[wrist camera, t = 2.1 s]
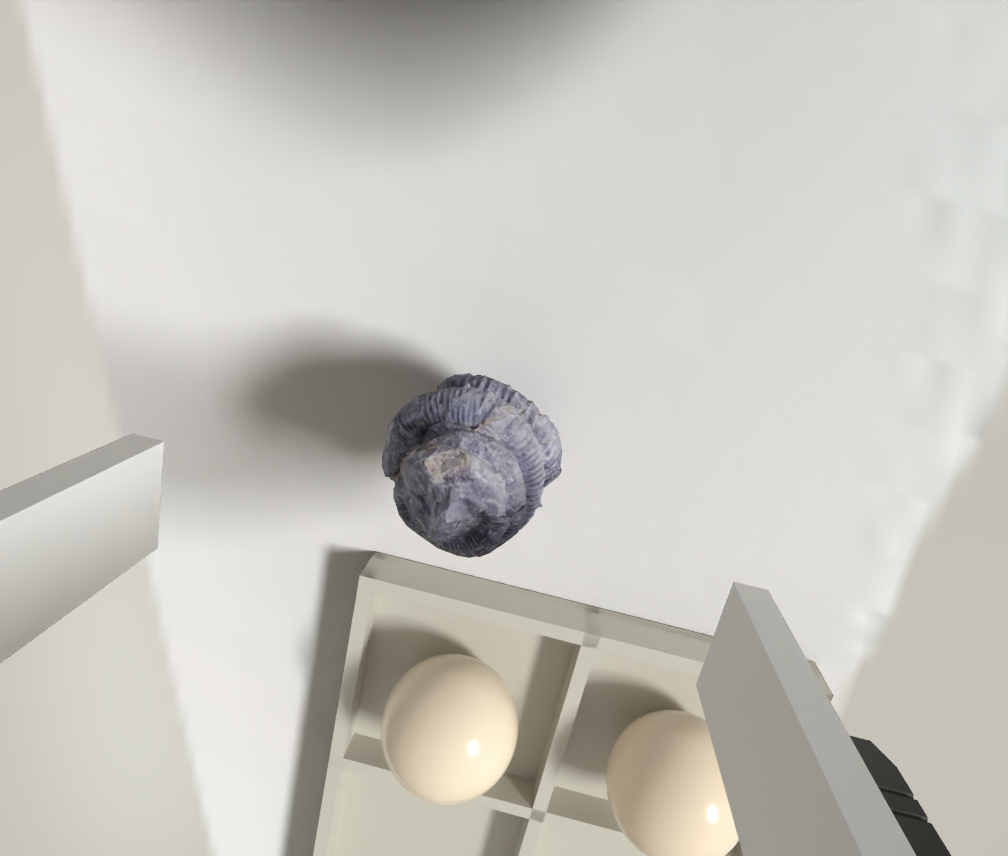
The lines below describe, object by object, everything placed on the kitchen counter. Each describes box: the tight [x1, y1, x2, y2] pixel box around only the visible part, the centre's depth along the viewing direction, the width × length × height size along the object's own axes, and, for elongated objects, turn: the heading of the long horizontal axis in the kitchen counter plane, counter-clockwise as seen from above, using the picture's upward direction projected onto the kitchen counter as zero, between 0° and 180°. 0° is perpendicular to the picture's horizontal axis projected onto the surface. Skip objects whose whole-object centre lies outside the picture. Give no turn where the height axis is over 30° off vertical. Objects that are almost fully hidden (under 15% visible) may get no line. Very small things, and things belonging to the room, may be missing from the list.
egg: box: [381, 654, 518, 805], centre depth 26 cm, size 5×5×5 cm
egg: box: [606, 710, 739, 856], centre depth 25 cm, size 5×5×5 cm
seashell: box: [382, 373, 562, 558], centre depth 20 cm, size 5×5×10 cm
